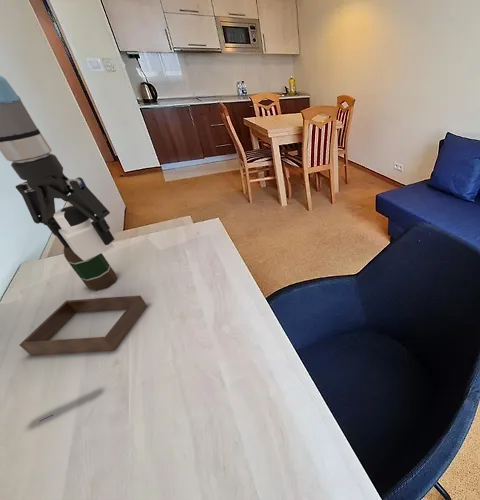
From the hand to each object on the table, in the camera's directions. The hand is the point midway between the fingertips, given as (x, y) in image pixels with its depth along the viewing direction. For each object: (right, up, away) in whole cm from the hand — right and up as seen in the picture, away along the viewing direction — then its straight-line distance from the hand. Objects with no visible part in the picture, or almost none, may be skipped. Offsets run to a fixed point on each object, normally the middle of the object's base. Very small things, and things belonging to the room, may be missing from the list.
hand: (90, 243), depth 78 cm
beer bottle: (-11, -12, +17) cm, 24 cm away
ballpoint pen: (+10, -34, -17) cm, 40 cm away
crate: (+1, -23, +1) cm, 23 cm away
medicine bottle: (0, -2, +1) cm, 2 cm away
